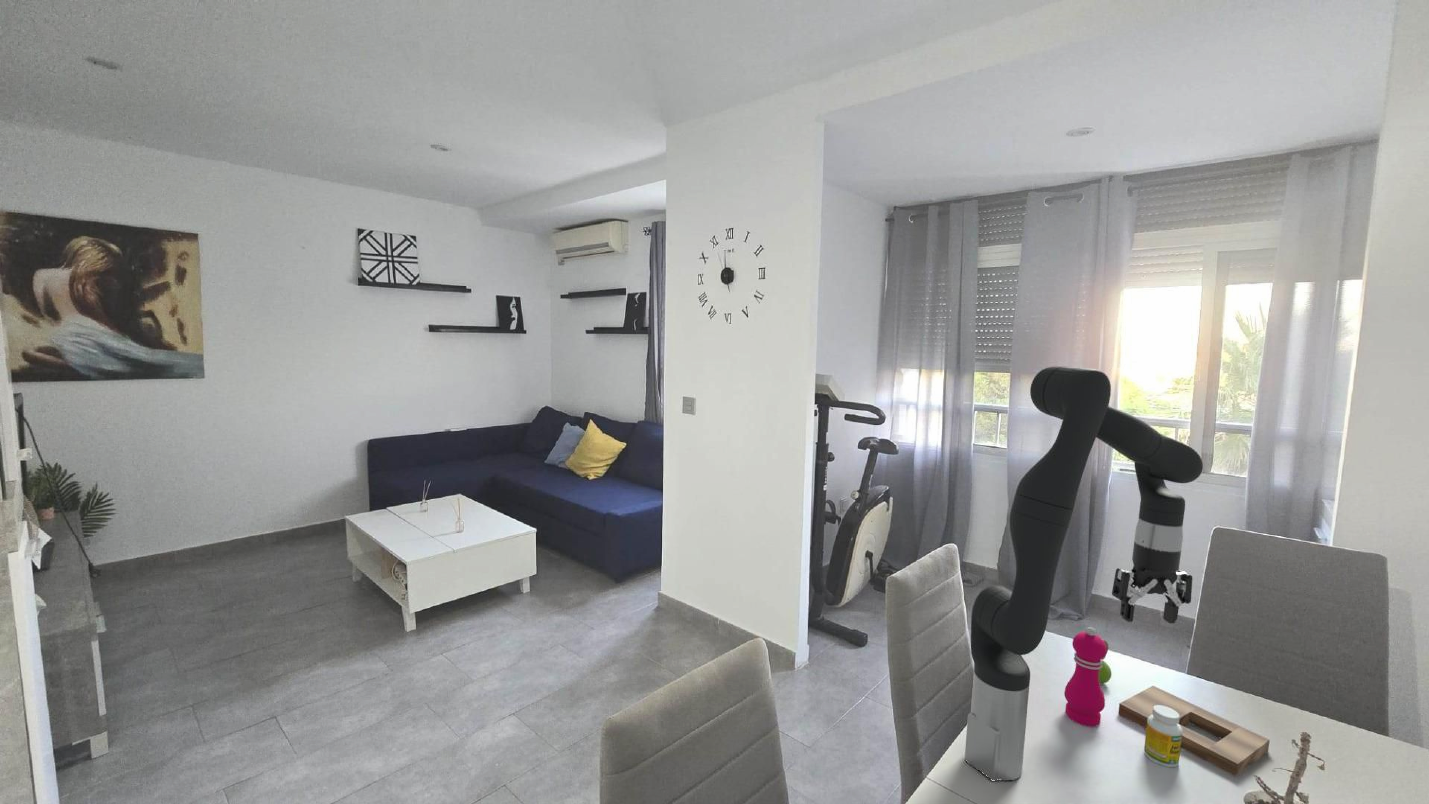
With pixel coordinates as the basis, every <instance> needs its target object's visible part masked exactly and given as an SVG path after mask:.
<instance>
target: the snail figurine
mask: <svg viewBox="0 0 1429 804" xmlns="http://www.w3.org/2000/svg"><path fill="white" fill-rule="evenodd" d="M1101 639H1102V640H1103V641H1104V643H1105V645H1106V649H1107V652H1106V655H1105V657H1104V658H1102V661H1103V663H1102V668H1101V669H1099V684H1100V685H1102V684H1103V685H1104V684H1106V683H1108V682H1110V680H1111V678H1112V670H1111V667H1110V666H1109V665H1108V663H1107V662H1106V661H1104V660H1105V659H1106V656H1107V653H1108V651H1109V643H1108V641H1107V640H1106V639H1103V638H1101Z"/></svg>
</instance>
